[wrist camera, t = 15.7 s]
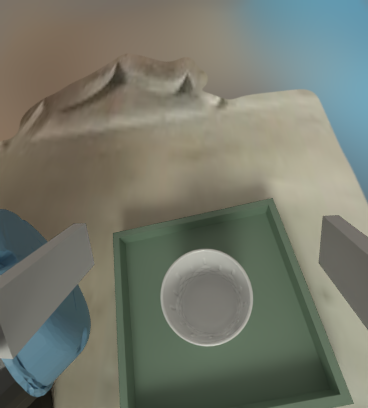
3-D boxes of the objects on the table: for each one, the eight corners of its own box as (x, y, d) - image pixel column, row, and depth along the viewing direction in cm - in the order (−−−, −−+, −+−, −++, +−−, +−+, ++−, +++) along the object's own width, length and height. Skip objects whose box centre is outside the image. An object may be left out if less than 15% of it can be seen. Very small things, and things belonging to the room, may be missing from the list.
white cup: (258, 307, 29) (273, 297, 21) (209, 358, 28) (202, 370, 19) (211, 258, 33) (207, 231, 24) (165, 301, 31) (142, 289, 22)
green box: (133, 432, 27) (121, 445, 23) (122, 241, 37) (112, 233, 34) (338, 395, 26) (353, 403, 23) (268, 209, 36) (272, 198, 33)
